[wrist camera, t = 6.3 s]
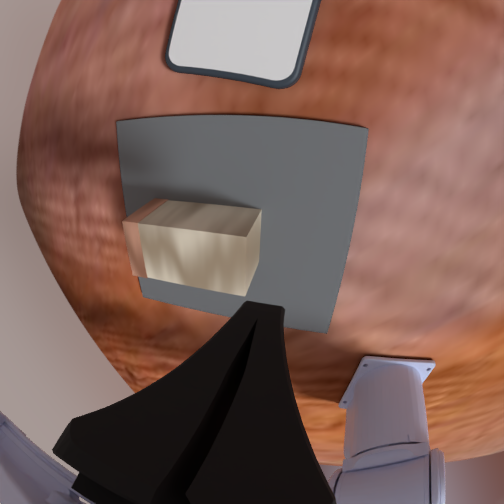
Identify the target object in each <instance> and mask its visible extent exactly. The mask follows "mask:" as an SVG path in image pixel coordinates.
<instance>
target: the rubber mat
mask: <svg viewBox="0 0 504 504" xmlns="http://www.w3.org/2000/svg"><path fill="white" fill-rule="evenodd" d="M116 124H117V139H118V151H119V162H120V171H121V180H122V188H123V195H124V202H125V209H126V216H127V217H128V216H130V215H131V214H132V213H134V212H135V211H137V210H138V209H140V208H141V207H142V206H144V205H145V204H147V203H148V202H150V201H151V200H153V199H154V198H157V199H168V200H171V201H183V202H195V203H205V204H216V205H225V206H235V207H244V208H253V209H262V212H261V233H260V253H259V263H258V266H257V268H256V271H255V273H254V276H253V278H252V281H251V283H250V286H249V288H248V291H247V293H246V296H240V295H234V294H228V293H223V292H217V291H212V290H207V289H202V288H197V287H191V286H186V285H181V284H176V283H172V282H167V281H162V280H157V279H153V278H143V277H139V276H138V277H139V282H140V286H141V290H142V294H143V297H145V298H149V299H153V300H157V301H161V302H165V303H169V304H173V305H177V306H182V307H186V308H190V309H195V310H199V311H204V312H208V313H213V314H218V315H222V316H227V317H232V316H233V315H234V314H235V313H236V311H237V310H238V309H239V308H240V307H241V305H242V304H243V303H244V302H246V301H253V302H259V303H265V304H271V305H278V306H283V307H284V309H285V316H284V327H287V328H293V329H299V330H306V331H312V332H319V333H326V334H327V332H328V328H329V325H330V322H331V318H332V315H333V311H334V307H335V304H336V300H337V296H338V292H339V288H340V284H341V280H342V276H343V272H344V268H345V264H346V259H347V255H348V250H349V246H350V241H351V236H352V232H353V227H354V222H355V216H356V211H357V206H358V200H359V194H360V188H361V182H362V175H363V169H364V162H365V154H366V147H367V138H368V128H364V127H358V126H352V125H346V124H339V123H332V122H325V121H317V120H308V119H298V118H287V117H273V116H255V115H183V116H165V117H152V118H141V119H131V120H122V121H117V122H116Z"/></svg>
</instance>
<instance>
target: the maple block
mask: <svg viewBox="0 0 504 504" xmlns="http://www.w3.org/2000/svg"><path fill="white" fill-rule="evenodd" d="M261 212H262V209H253V208H244V207H235V206H225V205H216V204H205V203H195V202H183V201H171V200H168V199H157V198H154V199H153V200H151V201H150V202H148V203H147V204H145V205H144V206H142V207H141V208H140V209H138V210H137V211H135V212H134V213H132V214H131V215H130V216H128V217H127V218H126V219H124V220H123V221H122V224H123V230H124V235H125V240H126V245H127V250H128V255H129V260H130V264H131V269H132V273H133V275H134V276H139V277H143V278H153V279H157V280H162V281H167V282H172V283H176V284H181V285H186V286H191V287H197V288H202V289H207V290H212V291H217V292H223V293H228V294H234V295H240V296H246V293H247V291H248V288H249V286H250V283H251V281H252V278H253V276H254V273H255V271H256V268H257V266H258V263H259V253H260V233H261Z"/></svg>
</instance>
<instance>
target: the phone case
mask: <svg viewBox="0 0 504 504" xmlns="http://www.w3.org/2000/svg"><path fill="white" fill-rule="evenodd" d="M320 3H321V0H178V4H177V8H176V11H175V15H174V19H173V23H172V27H171V31H170V35H169V39H168V44H167V48H166V53H165V60H166V63H167V65H168V67H169V68H170V69H171V70H173V71H175V72H178V73H187V74H196V75H204V76H211V77H218V78H224V79H230V80H236V81H242V82H247V83H252V84H257V85H262V86H266V87H270V88H275V89H284V88H288V87H291V86H292V85H294V84H295V83H296V82H297V81H298V80H299V78H300V76H301V73H302V70H303V66H304V62H305V58H306V55H307V51H308V47H309V44H310V40H311V36H312V32H313V29H314V25H315V21H316V18H317V14H318V10H319V6H320Z"/></svg>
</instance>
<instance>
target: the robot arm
mask: <svg viewBox="0 0 504 504" xmlns="http://www.w3.org/2000/svg"><path fill="white" fill-rule="evenodd" d="M284 316H285V309H284V307H283V306H278V305H271V304H265V303H259V302H253V301H246V302H244V303H243V304H242V305H241V307H240V308H239V309H238V310H237V311H236V313H235V314H234V315H233V316H232V317H231V318H230V319H229V320H228V322H227V323H226V324H225V325H224V326H223V327H222V328H221V329H220V330H219V331H218V332H217V333H216V334H215V335H214V336H213V337H212V338H211V339H210V340H209V341H208V342H207V343H206V344H204V345H203V346H202V347H201V348H200V349H199V350H198V351H196V352H195V353H194V354H193V355H192V356H191V357H189V358H188V359H187V360H186V361H184V362H183V363H182V364H181V365H179V366H178V367H177V368H175V369H174V370H172V371H171V372H169V373H168V374H167V375H165V376H164V377H162V378H160V379H159V380H157V381H156V382H154V383H152V384H151V385H149V386H148V387H146V388H144V389H142V390H141V391H139V392H137V393H135V394H133V395H131V396H129V397H127V398H125V399H123V400H121V401H118V402H116V403H114V404H112V405H110V406H107V407H105V408H102V409H100V410H97V411H94V412H91V413H88V414H85V415H82V416H79V417H76V418H74V419H72V420H71V422H70V423H69V424H68V425H67V427H66V428H65V430H64V432H63V433H62V435H61V436H60V438H59V439H58V441H57V443H56V444H55V446H54V448H53V449H52V450H53V453H54V454H55V455H56V456H58V457H59V458H60V459H62V460H63V461H65V462H66V463H67V464H69V465H70V466H71V467H73V468H74V469H76V470H77V471H79V474H78V476H76V475H75V474H73V473H72V472H70V471H69V470H68V469H66V468H65V467H63V466H62V465H61V464H59V463H58V462H57V461H55V460H54V459H52V458H51V457H50V456H49V455H48V454H46V453H45V452H44V451H43V450H41V449H40V448H39V447H38V446H37V445H35V444H34V443H33V442H32V441H31V440H30V439H28V438H27V437H26V435H25V434H24V433H23V432H22V431H21V430H20V429H19V428H18V427H17V426H16V425H14V423H13V422H12V421H11V420H9V419H8V418H7V417H6V416H5V415H4V414H3V413H2V412H1V411H0V503H1V504H86V503H84V502H81V501H80V500H79V496H80V497H81V498H83V499H84V500H86V501H87V502H89V503H90V504H445V492H446V490H445V463H444V452H442V451H440V450H439V449H438V448H435V449H433V450H430V446H429V437H428V426H427V417H426V409H425V401H424V394H423V388H422V383H423V382H424V380H425V379H426V378H427V376H428V375H429V374H430V372H431V371H432V369H433V368H434V367H435V361H433V360H414V359H398V358H385V357H374V356H365V357H363V358H362V360H361V362H360V364H359V366H358V368H357V370H356V372H355V374H354V376H353V378H352V380H351V382H350V384H349V386H348V388H347V390H346V391H345V393H344V395H343V397H342V399H341V401H340V402H339V407H340V408H345V409H347V411H346V426H345V439H344V456H345V458H346V459H344V460H343V467H342V468H341V469H338V470H336V471H335V472H334V473H333V475H332V476H331V477H330V479H329V480H328V482H327V480H326V478H325V476H324V474H323V472H322V470H321V468H320V465H319V463H318V461H317V459H316V456H315V454H314V452H313V449H312V447H311V444H310V441H309V439H308V436H307V433H306V431H305V428H304V426H303V423H302V420H301V416H300V413H299V410H298V407H297V403H296V400H295V396H294V392H293V388H292V384H291V380H290V375H289V370H288V364H287V358H286V351H285V343H284Z"/></svg>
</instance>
